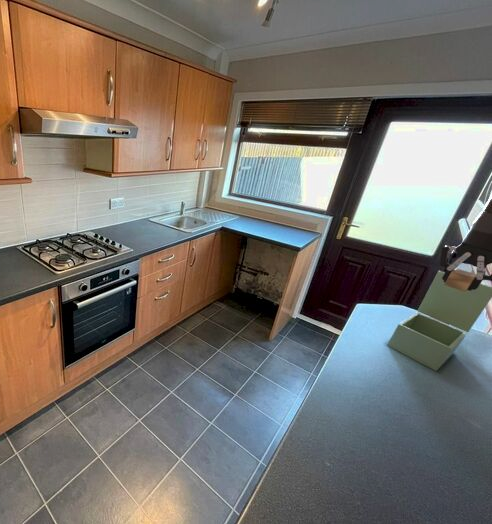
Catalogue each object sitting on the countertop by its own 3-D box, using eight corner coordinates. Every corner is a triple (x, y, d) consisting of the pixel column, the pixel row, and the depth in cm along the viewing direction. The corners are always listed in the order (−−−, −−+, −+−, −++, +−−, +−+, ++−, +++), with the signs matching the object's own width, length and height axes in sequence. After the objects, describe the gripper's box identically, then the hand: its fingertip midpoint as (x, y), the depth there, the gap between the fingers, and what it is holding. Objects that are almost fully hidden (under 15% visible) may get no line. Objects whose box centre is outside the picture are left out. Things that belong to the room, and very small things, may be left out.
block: (443, 284, 82) (451, 271, 80) (448, 281, 84) (456, 268, 82) (465, 292, 79) (474, 277, 77) (469, 288, 81) (478, 274, 79)
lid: (496, 289, 79) (503, 282, 82) (438, 271, 89) (445, 265, 91) (467, 332, 88) (475, 324, 90) (417, 311, 97) (424, 304, 100)
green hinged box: (435, 371, 84) (451, 348, 80) (386, 345, 94) (398, 324, 90) (452, 354, 92) (467, 333, 88) (405, 331, 101) (417, 311, 98)
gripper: (537, 237, 70) (496, 294, 78) (459, 221, 81) (430, 273, 89) (531, 241, 67) (489, 301, 74) (450, 223, 78) (421, 277, 85)
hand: (457, 285), depth 81 cm, fingers closed on block, 4 cm apart
